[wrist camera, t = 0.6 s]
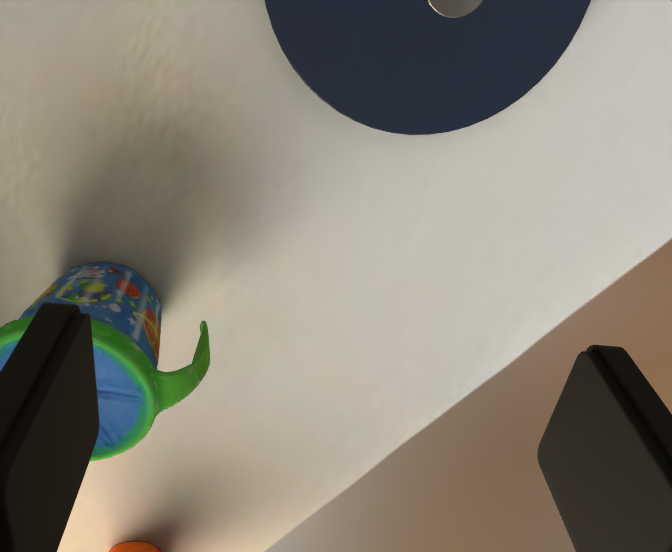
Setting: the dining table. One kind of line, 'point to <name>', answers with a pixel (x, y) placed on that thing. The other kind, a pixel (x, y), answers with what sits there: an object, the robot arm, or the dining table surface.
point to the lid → (423, 55)
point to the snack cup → (119, 350)
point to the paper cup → (135, 547)
